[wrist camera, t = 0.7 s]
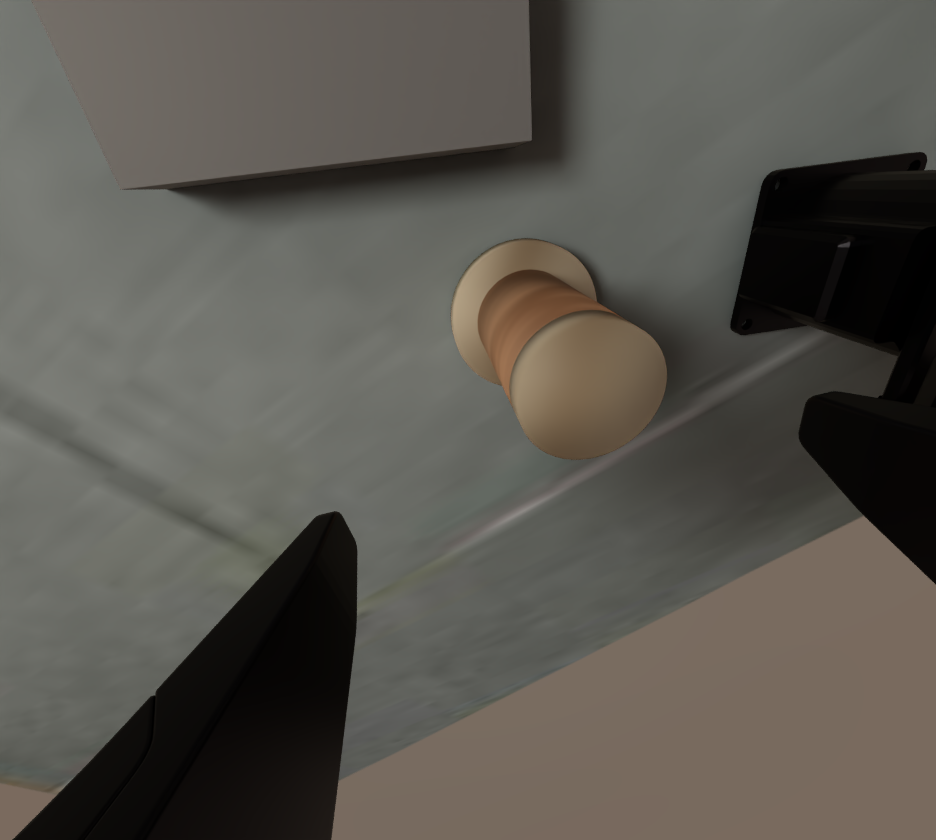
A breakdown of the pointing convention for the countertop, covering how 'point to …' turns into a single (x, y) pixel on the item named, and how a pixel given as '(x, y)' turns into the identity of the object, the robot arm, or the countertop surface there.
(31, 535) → the countertop surface
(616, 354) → the spool
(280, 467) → the countertop surface
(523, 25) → the gray u-shaped block
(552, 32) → the countertop surface
